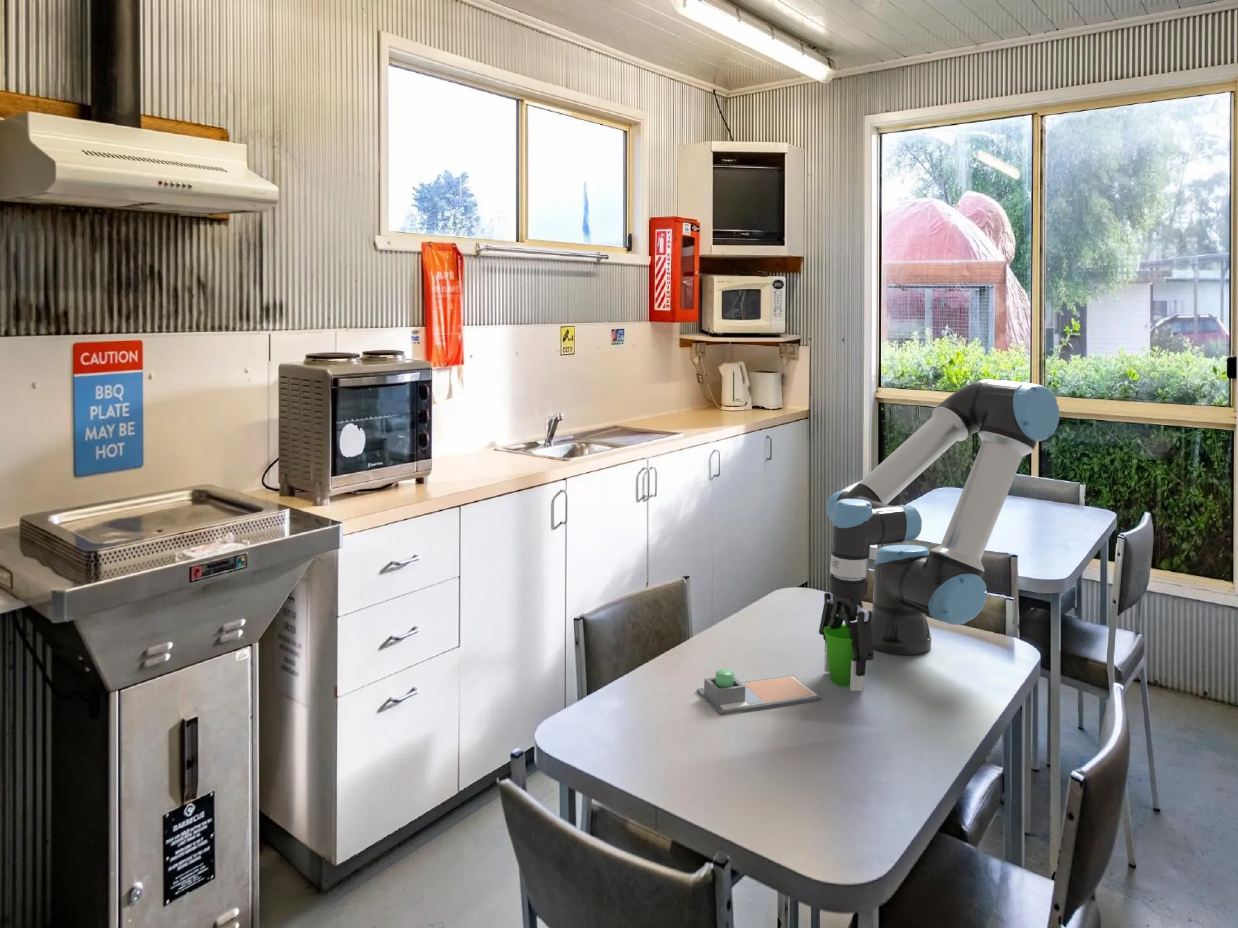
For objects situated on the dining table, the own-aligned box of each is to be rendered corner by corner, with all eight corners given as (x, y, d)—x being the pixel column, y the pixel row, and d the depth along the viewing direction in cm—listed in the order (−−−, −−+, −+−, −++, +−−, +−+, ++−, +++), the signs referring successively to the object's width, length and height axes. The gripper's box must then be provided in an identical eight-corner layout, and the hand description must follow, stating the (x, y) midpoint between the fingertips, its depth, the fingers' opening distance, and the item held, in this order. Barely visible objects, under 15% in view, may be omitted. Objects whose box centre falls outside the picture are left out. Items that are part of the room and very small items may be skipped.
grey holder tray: (792, 677, 186) (793, 660, 186) (820, 699, 176) (821, 681, 176) (696, 691, 179) (697, 673, 179) (720, 715, 169) (720, 696, 169)
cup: (867, 692, 179) (870, 641, 178) (821, 688, 181) (823, 637, 179) (864, 675, 188) (867, 625, 186) (820, 671, 190) (822, 622, 188)
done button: (728, 682, 177) (729, 668, 177) (736, 689, 174) (737, 675, 173) (712, 684, 176) (712, 670, 176) (720, 692, 173) (720, 677, 172)
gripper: (805, 562, 190) (800, 662, 194) (864, 593, 169) (857, 703, 173) (835, 559, 192) (830, 657, 196) (897, 589, 172) (890, 698, 176)
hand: (843, 679), depth 185 cm, fingers closed on cup, 9 cm apart
